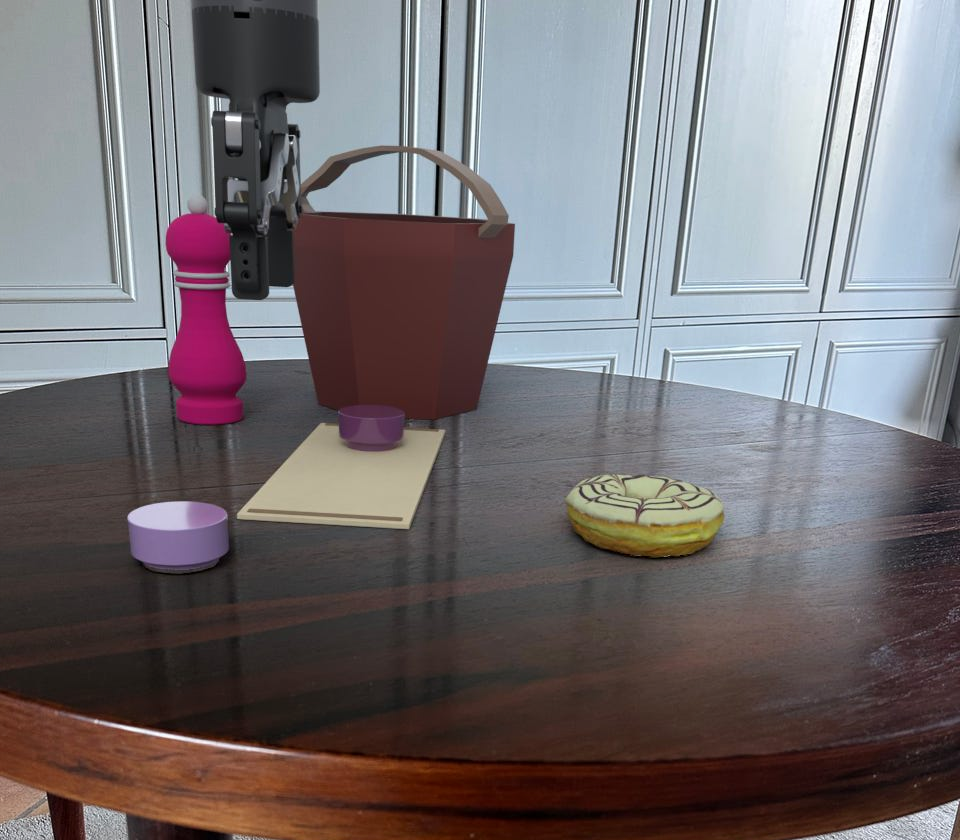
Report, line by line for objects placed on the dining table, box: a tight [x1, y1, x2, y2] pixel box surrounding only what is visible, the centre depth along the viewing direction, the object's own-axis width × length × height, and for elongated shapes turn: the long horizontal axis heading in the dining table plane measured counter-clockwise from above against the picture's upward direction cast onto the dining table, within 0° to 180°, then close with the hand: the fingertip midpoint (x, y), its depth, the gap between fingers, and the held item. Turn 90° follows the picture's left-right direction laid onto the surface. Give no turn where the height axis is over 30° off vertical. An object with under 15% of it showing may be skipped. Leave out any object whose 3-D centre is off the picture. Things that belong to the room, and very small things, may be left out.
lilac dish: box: [126, 500, 230, 570], centre depth 62 cm, size 6×6×3 cm
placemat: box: [236, 422, 446, 530], centre depth 84 cm, size 12×30×1 cm, turn 177°
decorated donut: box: [564, 474, 725, 558], centre depth 70 cm, size 10×11×4 cm
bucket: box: [290, 145, 516, 421], centre depth 106 cm, size 24×22×25 cm
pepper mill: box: [165, 193, 248, 426], centre depth 95 cm, size 7×7×20 cm
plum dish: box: [337, 405, 406, 452], centre depth 90 cm, size 6×6×3 cm
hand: (265, 292), depth 68 cm, fingers open, 8 cm apart
